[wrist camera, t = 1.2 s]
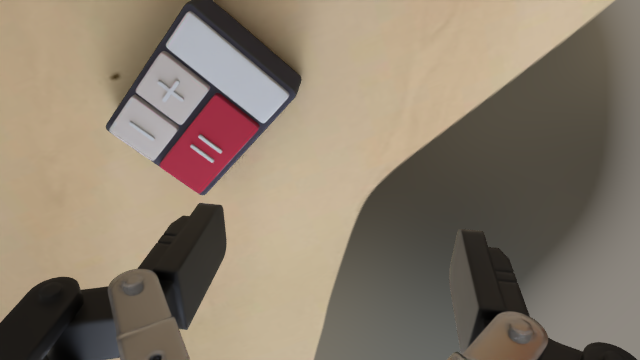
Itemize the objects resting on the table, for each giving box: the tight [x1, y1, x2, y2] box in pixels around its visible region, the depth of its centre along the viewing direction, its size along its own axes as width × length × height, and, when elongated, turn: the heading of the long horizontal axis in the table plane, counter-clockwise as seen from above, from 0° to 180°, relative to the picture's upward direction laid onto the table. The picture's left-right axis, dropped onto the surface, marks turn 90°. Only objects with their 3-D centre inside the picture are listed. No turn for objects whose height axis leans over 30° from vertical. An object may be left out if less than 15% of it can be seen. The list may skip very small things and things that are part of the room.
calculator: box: [106, 0, 301, 195], centre depth 40 cm, size 11×4×15 cm
